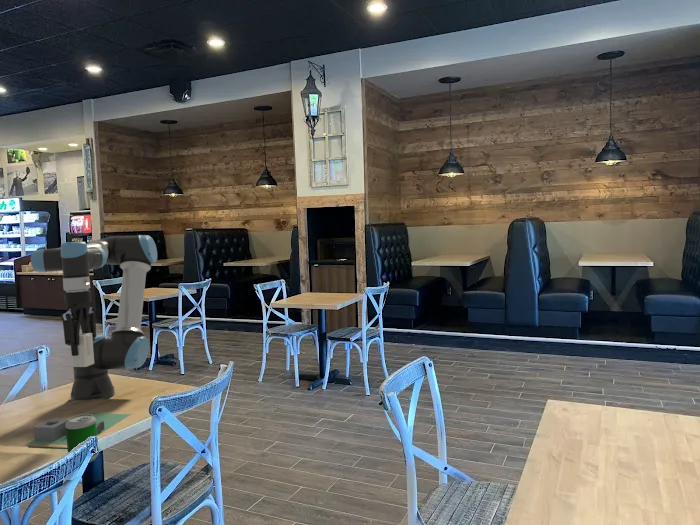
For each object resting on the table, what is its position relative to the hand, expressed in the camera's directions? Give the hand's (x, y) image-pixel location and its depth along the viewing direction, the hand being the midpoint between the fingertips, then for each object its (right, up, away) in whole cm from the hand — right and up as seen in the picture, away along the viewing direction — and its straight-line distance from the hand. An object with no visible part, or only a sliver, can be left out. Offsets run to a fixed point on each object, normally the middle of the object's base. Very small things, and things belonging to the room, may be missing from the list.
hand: (83, 363), depth 168 cm
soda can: (+12, -23, -22) cm, 34 cm away
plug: (0, -1, 0) cm, 1 cm away
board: (+1, -21, -2) cm, 21 cm away
